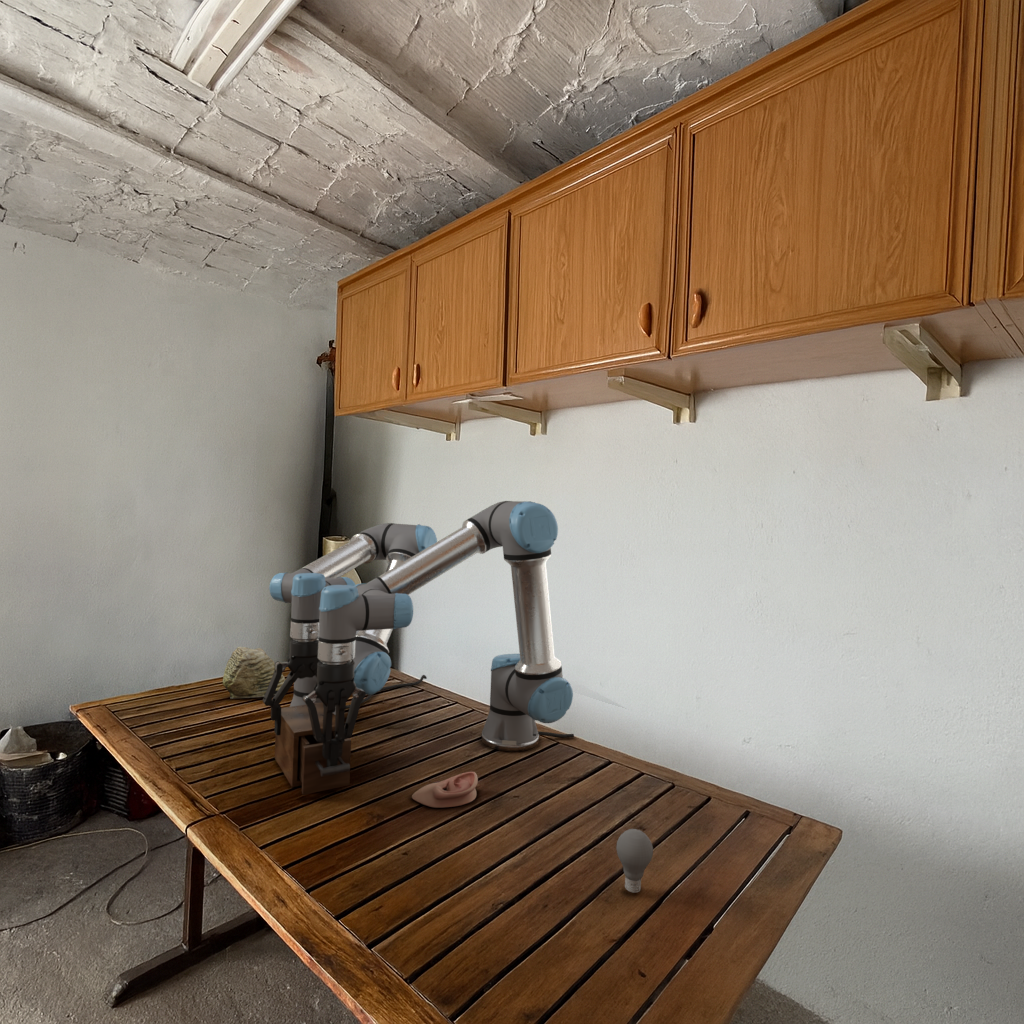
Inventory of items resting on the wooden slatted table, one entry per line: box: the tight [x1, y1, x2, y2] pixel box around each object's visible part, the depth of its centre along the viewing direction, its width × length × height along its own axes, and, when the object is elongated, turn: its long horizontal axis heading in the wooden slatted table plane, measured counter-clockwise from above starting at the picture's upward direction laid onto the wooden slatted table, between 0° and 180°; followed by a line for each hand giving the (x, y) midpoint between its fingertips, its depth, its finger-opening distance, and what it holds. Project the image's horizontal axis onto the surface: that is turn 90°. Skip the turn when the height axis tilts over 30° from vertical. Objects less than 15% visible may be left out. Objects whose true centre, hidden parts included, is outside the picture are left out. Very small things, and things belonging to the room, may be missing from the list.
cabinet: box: [274, 702, 335, 788], centre depth 148 cm, size 17×11×12 cm, turn 33°
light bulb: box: [615, 828, 654, 894], centre depth 106 cm, size 6×6×10 cm
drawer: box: [297, 731, 352, 796], centre depth 139 cm, size 22×10×10 cm, turn 33°
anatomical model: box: [411, 771, 479, 809], centre depth 136 cm, size 13×4×12 cm
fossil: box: [222, 646, 286, 699], centre depth 198 cm, size 9×18×15 cm, turn 132°
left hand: (303, 729), depth 152 cm, fingers closed on cabinet, 11 cm apart
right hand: (331, 772), depth 132 cm, fingers closed
